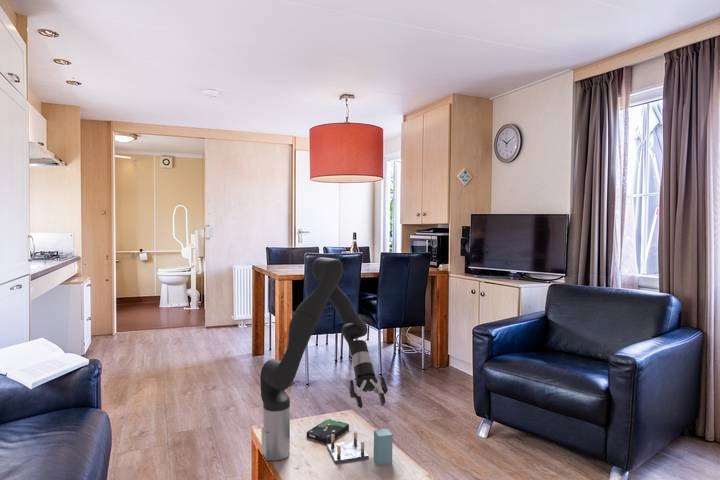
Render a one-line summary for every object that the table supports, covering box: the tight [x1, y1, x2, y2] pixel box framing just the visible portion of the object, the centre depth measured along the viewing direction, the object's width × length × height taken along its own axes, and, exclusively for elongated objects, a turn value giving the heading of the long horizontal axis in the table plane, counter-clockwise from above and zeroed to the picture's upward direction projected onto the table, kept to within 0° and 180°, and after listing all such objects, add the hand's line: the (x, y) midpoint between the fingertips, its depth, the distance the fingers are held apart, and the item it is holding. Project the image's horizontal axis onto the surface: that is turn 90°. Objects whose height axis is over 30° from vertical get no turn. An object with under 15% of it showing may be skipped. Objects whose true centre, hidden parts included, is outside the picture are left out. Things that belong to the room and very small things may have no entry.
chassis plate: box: [326, 431, 370, 464], centre depth 163 cm, size 12×12×5 cm
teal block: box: [373, 428, 394, 466], centre depth 157 cm, size 5×5×10 cm
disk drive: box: [306, 418, 350, 445], centre depth 178 cm, size 10×3×15 cm
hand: (372, 406), depth 168 cm, fingers open, 8 cm apart
